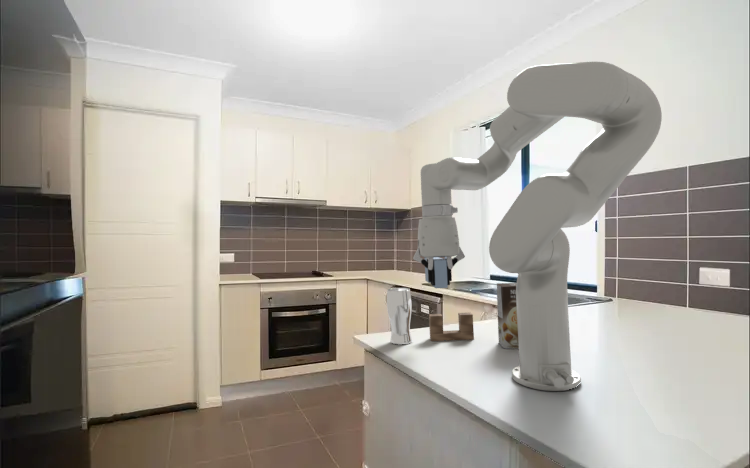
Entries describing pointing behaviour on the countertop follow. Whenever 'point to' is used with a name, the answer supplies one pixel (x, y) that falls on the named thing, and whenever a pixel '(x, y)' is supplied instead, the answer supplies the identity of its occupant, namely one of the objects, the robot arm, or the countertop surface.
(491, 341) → the countertop surface
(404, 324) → the beer glass
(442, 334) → the brown wooden u-shaped block
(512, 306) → the coffee box
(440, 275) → the pale blue tapered slab
